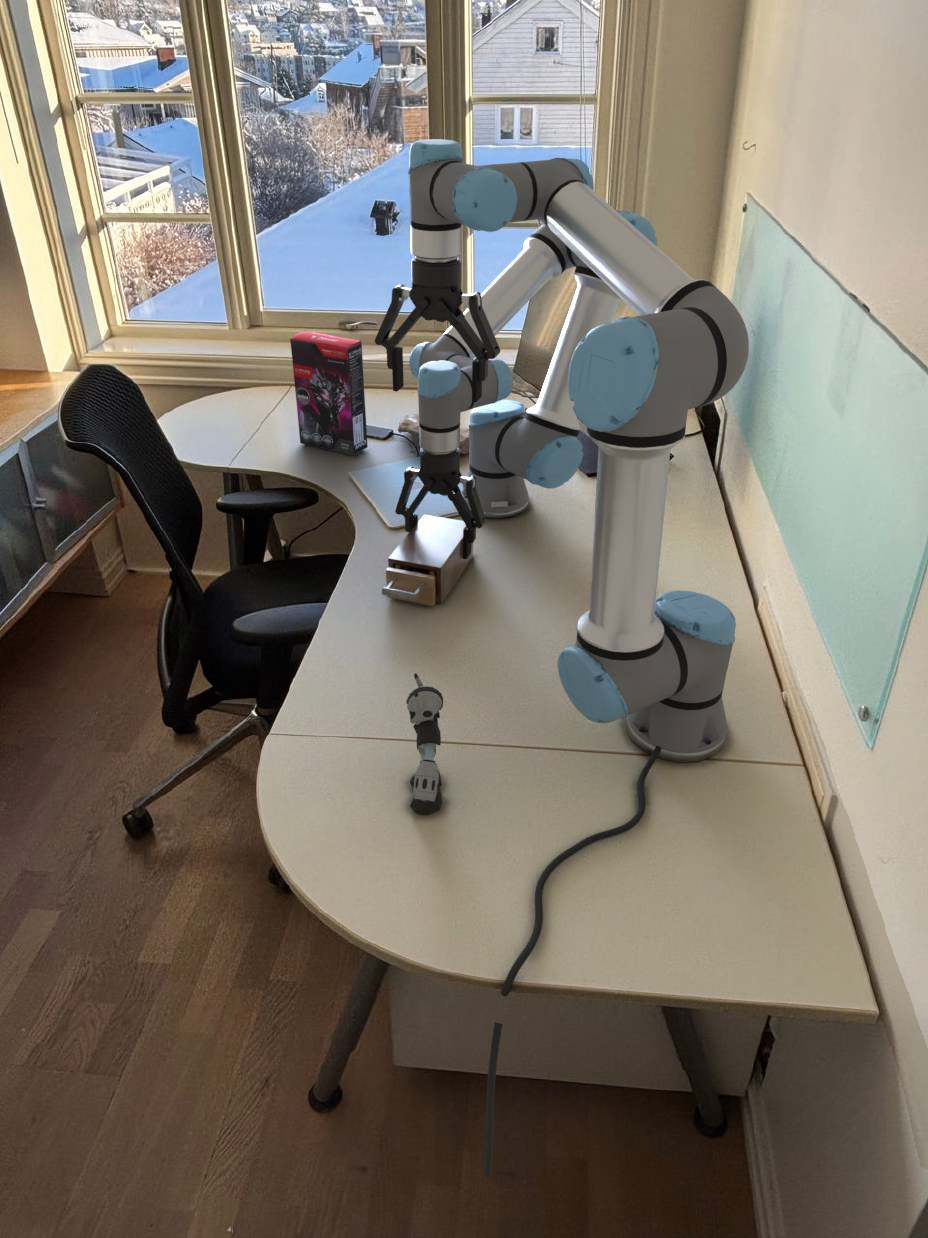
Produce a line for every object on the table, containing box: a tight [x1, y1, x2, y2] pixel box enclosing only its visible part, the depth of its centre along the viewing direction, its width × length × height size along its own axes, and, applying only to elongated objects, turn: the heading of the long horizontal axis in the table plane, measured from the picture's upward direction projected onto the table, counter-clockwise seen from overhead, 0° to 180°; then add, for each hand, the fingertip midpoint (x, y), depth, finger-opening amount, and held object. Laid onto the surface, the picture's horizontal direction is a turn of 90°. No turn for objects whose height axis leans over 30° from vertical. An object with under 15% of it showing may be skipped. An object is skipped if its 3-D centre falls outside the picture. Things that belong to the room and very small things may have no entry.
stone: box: [397, 413, 469, 455], centre depth 233 cm, size 21×15×6 cm
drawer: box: [381, 564, 437, 607], centre depth 175 cm, size 23×9×6 cm, turn 161°
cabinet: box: [387, 514, 474, 605], centre depth 179 cm, size 19×10×8 cm, turn 161°
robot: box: [405, 673, 444, 816], centre depth 125 cm, size 20×5×20 cm, turn 3°
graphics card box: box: [289, 330, 368, 456], centre depth 225 cm, size 17×7×27 cm, turn 62°
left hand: (440, 551), depth 183 cm, fingers closed on cabinet, 10 cm apart
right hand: (437, 393), depth 149 cm, fingers open, 13 cm apart
